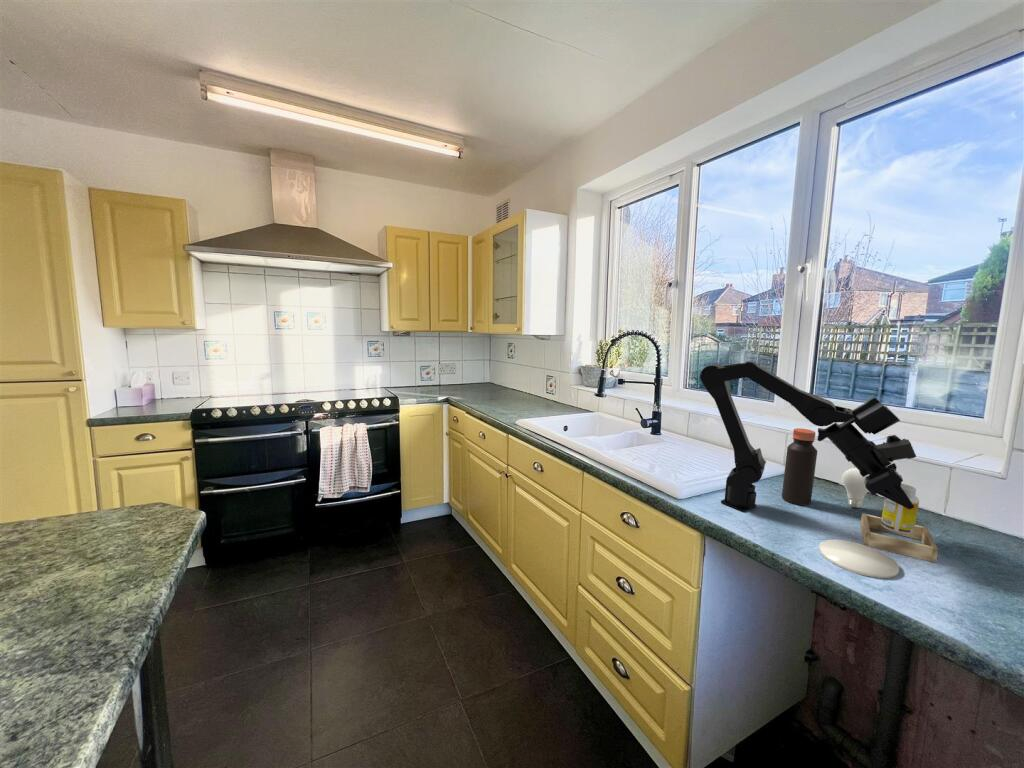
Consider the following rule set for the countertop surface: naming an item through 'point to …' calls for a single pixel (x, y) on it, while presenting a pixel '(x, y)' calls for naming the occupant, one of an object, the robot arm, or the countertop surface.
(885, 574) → the plate
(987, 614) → the countertop surface
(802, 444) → the vinegar
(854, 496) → the light bulb
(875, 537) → the bin frame
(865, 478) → the robot arm
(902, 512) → the supplement bottle
